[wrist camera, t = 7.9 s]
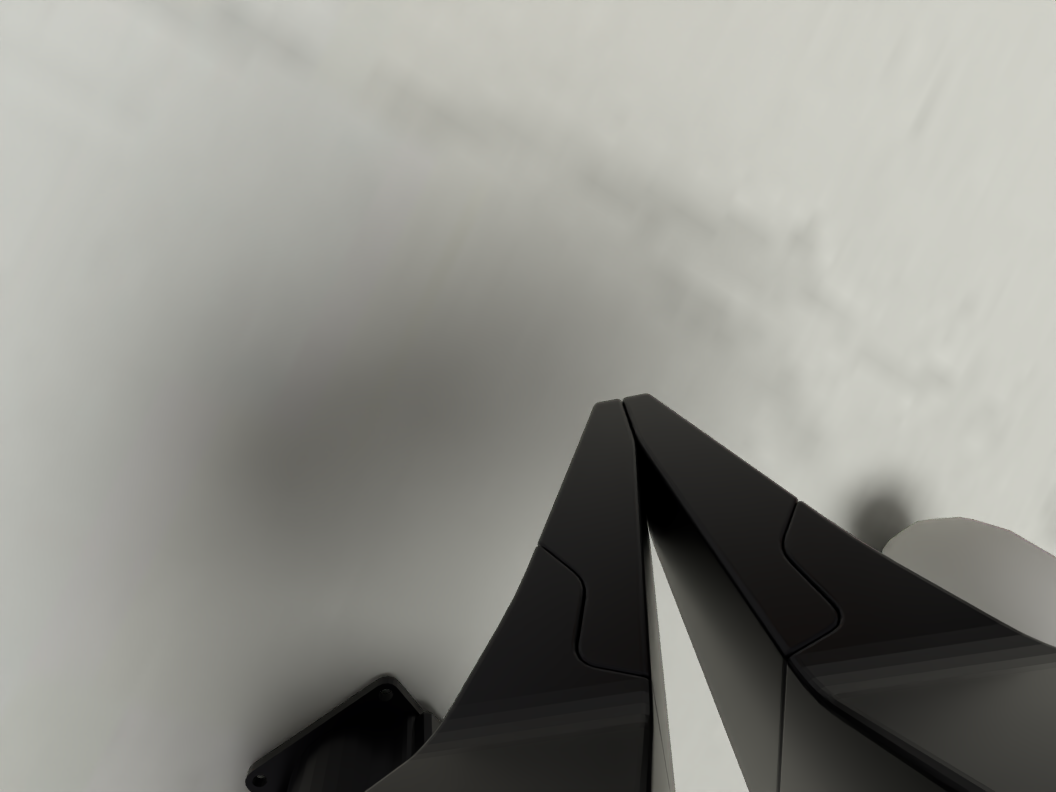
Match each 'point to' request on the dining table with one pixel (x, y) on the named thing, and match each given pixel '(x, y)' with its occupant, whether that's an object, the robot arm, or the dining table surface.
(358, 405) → the dining table surface
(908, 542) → the donut
